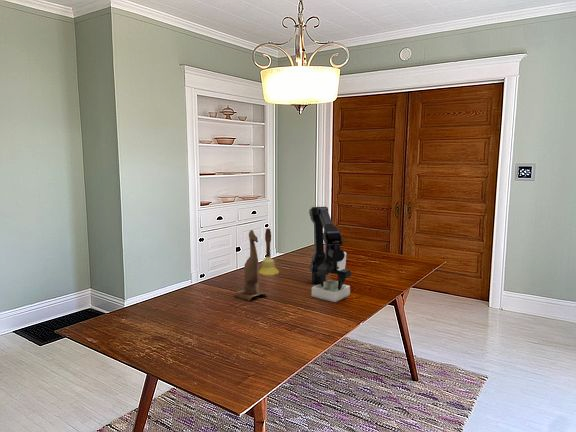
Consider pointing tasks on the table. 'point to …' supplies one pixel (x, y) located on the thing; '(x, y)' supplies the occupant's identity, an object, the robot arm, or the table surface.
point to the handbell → (268, 258)
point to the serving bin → (330, 293)
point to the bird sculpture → (251, 273)
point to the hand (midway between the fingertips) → (330, 288)
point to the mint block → (330, 285)
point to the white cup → (342, 263)
